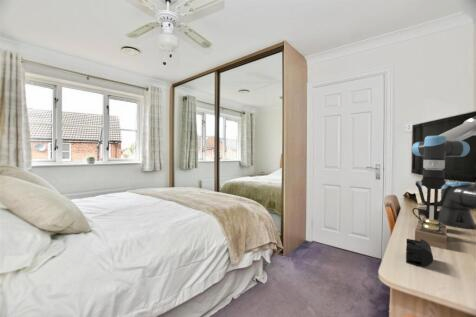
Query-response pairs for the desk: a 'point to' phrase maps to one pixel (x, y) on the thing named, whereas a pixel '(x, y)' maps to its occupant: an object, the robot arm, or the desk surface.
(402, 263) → the desk surface
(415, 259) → the end cap
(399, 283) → the desk surface
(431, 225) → the knob
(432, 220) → the knob
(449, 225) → the robot arm
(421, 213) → the coffee mug
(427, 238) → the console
